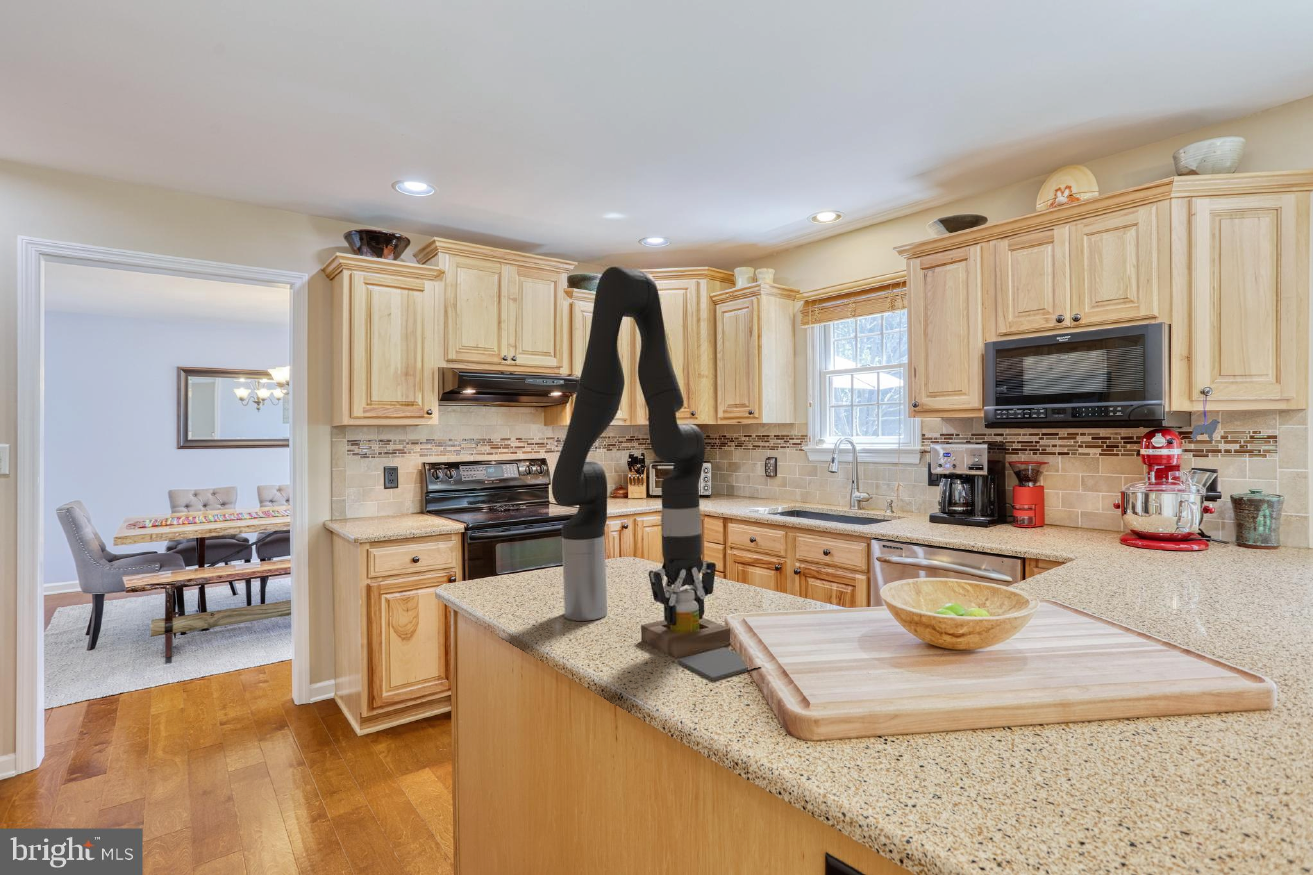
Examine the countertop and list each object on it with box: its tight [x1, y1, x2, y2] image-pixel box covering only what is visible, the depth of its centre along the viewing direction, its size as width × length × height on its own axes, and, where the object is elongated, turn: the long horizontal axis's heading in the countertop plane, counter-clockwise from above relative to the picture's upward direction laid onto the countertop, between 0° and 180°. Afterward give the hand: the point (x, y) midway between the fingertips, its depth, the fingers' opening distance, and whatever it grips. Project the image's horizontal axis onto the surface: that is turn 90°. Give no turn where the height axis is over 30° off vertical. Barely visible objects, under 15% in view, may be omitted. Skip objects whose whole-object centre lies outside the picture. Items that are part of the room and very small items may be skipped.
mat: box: [677, 646, 748, 682], centre depth 111 cm, size 10×10×1 cm
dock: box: [640, 617, 731, 659], centre depth 123 cm, size 12×12×3 cm
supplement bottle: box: [671, 587, 699, 634], centre depth 123 cm, size 5×5×10 cm
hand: (684, 621), depth 123 cm, fingers closed on supplement bottle, 5 cm apart
